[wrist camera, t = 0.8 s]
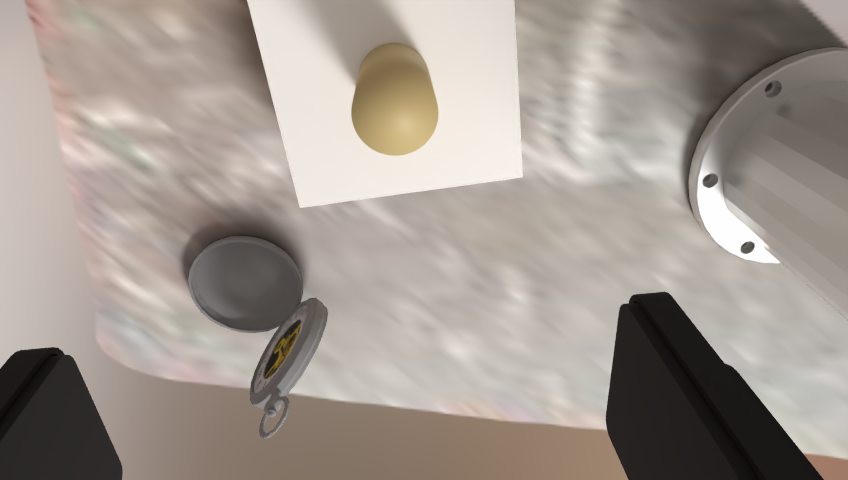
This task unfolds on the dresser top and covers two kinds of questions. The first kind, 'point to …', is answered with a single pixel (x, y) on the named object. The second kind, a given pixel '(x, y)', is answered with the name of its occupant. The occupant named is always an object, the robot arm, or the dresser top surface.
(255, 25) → the lid
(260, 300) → the pocket watch
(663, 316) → the robot arm
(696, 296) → the dresser top surface
